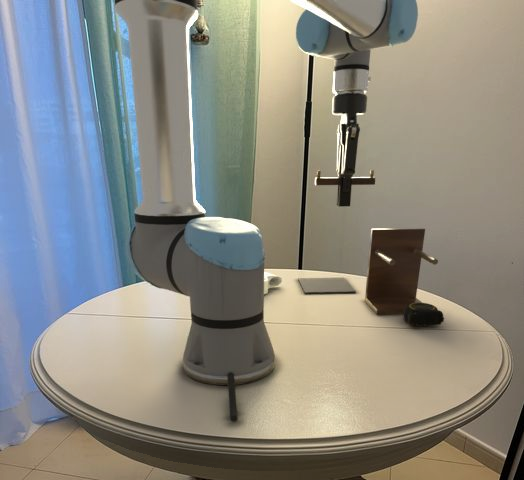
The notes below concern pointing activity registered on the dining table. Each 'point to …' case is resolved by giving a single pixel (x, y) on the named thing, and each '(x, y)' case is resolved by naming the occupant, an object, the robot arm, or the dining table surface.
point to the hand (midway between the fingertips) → (343, 205)
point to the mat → (325, 285)
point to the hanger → (336, 181)
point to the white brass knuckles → (271, 281)
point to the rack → (394, 268)
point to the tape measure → (422, 314)
